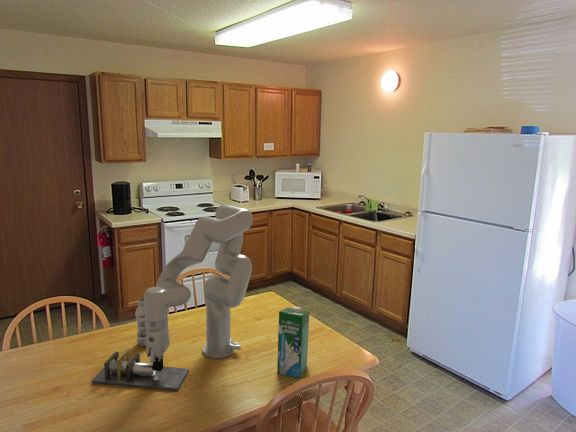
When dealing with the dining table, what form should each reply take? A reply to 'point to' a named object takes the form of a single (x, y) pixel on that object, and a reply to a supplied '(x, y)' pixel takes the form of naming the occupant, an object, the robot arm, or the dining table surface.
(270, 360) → the dining table surface
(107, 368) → the collar
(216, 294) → the robot arm
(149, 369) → the tube
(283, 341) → the milk carton
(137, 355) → the collar
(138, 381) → the plate
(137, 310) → the plastic bottle
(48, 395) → the dining table surface
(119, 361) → the aperture bridge
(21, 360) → the dining table surface
